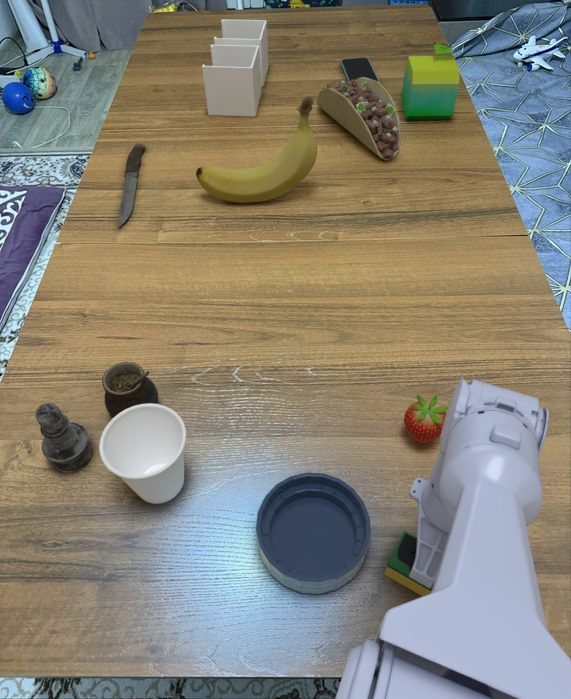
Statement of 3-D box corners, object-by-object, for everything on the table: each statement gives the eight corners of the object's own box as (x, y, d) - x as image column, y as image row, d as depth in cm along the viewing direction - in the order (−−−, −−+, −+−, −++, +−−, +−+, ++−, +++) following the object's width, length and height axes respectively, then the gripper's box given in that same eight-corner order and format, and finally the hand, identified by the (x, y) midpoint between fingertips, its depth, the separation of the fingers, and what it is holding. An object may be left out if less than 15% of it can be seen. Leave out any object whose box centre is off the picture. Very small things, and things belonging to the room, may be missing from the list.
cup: (194, 519, 71) (180, 478, 63) (114, 519, 71) (89, 478, 63) (202, 448, 77) (190, 402, 69) (129, 448, 78) (108, 402, 69)
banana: (199, 209, 111) (183, 110, 95) (200, 191, 114) (185, 93, 99) (317, 204, 111) (320, 104, 95) (314, 186, 115) (317, 87, 99)
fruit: (413, 459, 76) (423, 427, 70) (393, 428, 79) (401, 395, 73) (448, 444, 77) (461, 411, 71) (427, 415, 80) (438, 380, 74)
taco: (372, 168, 118) (377, 121, 110) (305, 110, 133) (306, 66, 126) (410, 154, 121) (417, 108, 113) (341, 99, 136) (343, 55, 128)
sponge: (456, 572, 67) (462, 561, 64) (441, 607, 64) (447, 598, 61) (400, 541, 69) (404, 530, 66) (384, 574, 67) (387, 564, 64)
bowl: (382, 579, 66) (386, 565, 63) (272, 608, 64) (270, 596, 61) (347, 478, 74) (349, 462, 71) (248, 502, 72) (246, 486, 69)
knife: (133, 229, 107) (131, 223, 106) (114, 230, 107) (112, 224, 106) (146, 147, 125) (145, 141, 124) (130, 147, 125) (129, 142, 124)
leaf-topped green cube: (450, 123, 129) (465, 54, 117) (406, 123, 129) (417, 54, 117) (442, 99, 136) (456, 31, 124) (400, 99, 136) (410, 32, 124)
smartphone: (352, 88, 138) (339, 59, 147) (351, 93, 139) (339, 63, 148) (381, 86, 138) (367, 56, 147) (381, 90, 139) (367, 61, 148)
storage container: (255, 116, 132) (252, 68, 124) (208, 114, 133) (202, 66, 125) (268, 66, 148) (266, 20, 139) (226, 65, 149) (221, 19, 140)
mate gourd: (116, 389, 84) (98, 345, 76) (168, 390, 84) (154, 346, 76) (105, 432, 79) (84, 390, 72) (159, 433, 79) (144, 390, 71)
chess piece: (75, 428, 80) (45, 377, 71) (104, 450, 78) (78, 399, 68) (41, 459, 77) (6, 409, 68) (70, 483, 75) (38, 435, 65)
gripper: (450, 401, 54) (426, 470, 65) (385, 531, 46) (369, 585, 57) (525, 434, 52) (487, 500, 62) (470, 577, 44) (437, 624, 54)
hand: (435, 543), depth 59 cm, fingers open, 7 cm apart
